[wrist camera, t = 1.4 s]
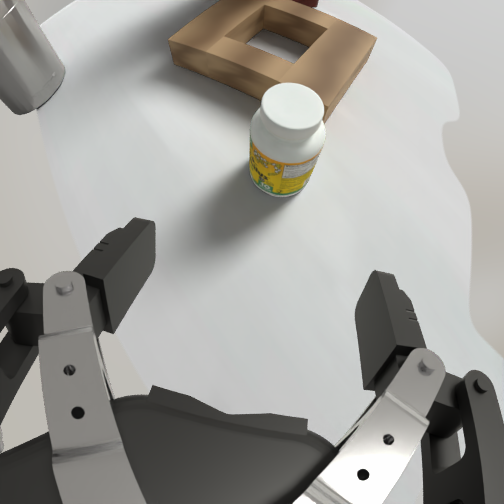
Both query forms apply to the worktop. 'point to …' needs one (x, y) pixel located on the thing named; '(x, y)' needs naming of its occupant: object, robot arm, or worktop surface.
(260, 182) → the supplement bottle
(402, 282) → the worktop surface
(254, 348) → the worktop surface
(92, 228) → the worktop surface
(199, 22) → the sleeve block
